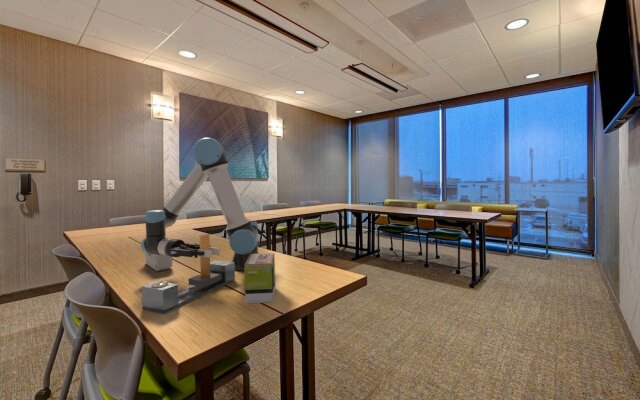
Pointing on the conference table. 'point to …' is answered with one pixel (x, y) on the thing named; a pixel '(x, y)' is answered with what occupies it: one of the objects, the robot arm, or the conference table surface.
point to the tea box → (259, 278)
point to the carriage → (205, 267)
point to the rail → (183, 290)
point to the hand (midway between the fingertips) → (215, 252)
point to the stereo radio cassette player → (158, 261)
